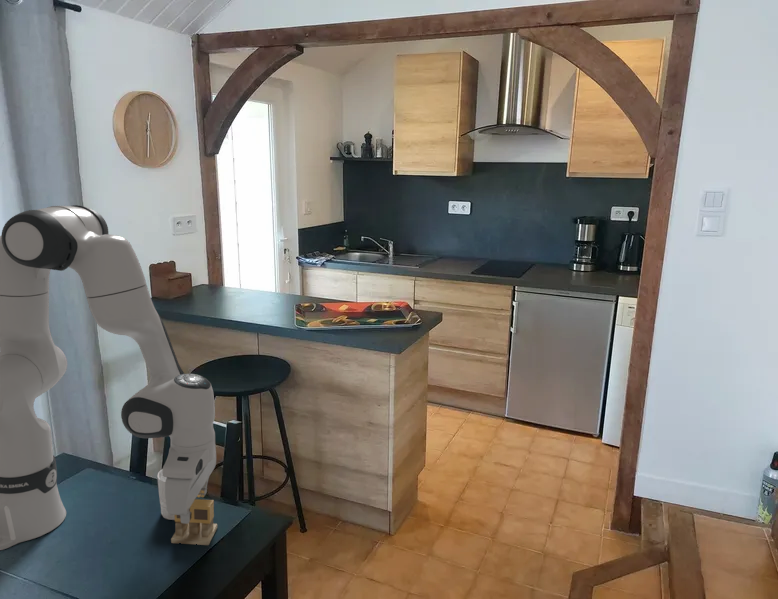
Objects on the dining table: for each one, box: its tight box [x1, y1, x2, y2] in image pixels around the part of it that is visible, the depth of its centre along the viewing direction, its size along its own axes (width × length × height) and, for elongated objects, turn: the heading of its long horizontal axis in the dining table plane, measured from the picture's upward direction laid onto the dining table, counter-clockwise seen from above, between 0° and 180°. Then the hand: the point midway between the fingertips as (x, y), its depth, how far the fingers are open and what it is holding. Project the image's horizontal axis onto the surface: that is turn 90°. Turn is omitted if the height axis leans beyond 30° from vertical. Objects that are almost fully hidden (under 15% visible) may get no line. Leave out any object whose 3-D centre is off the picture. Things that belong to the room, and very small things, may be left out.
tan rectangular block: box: [174, 498, 215, 524], centre depth 119 cm, size 8×3×4 cm, turn 89°
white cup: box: [156, 468, 175, 521], centre depth 127 cm, size 8×8×10 cm
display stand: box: [170, 518, 218, 546], centre depth 119 cm, size 8×6×4 cm
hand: (194, 508), depth 118 cm, fingers open, 8 cm apart
